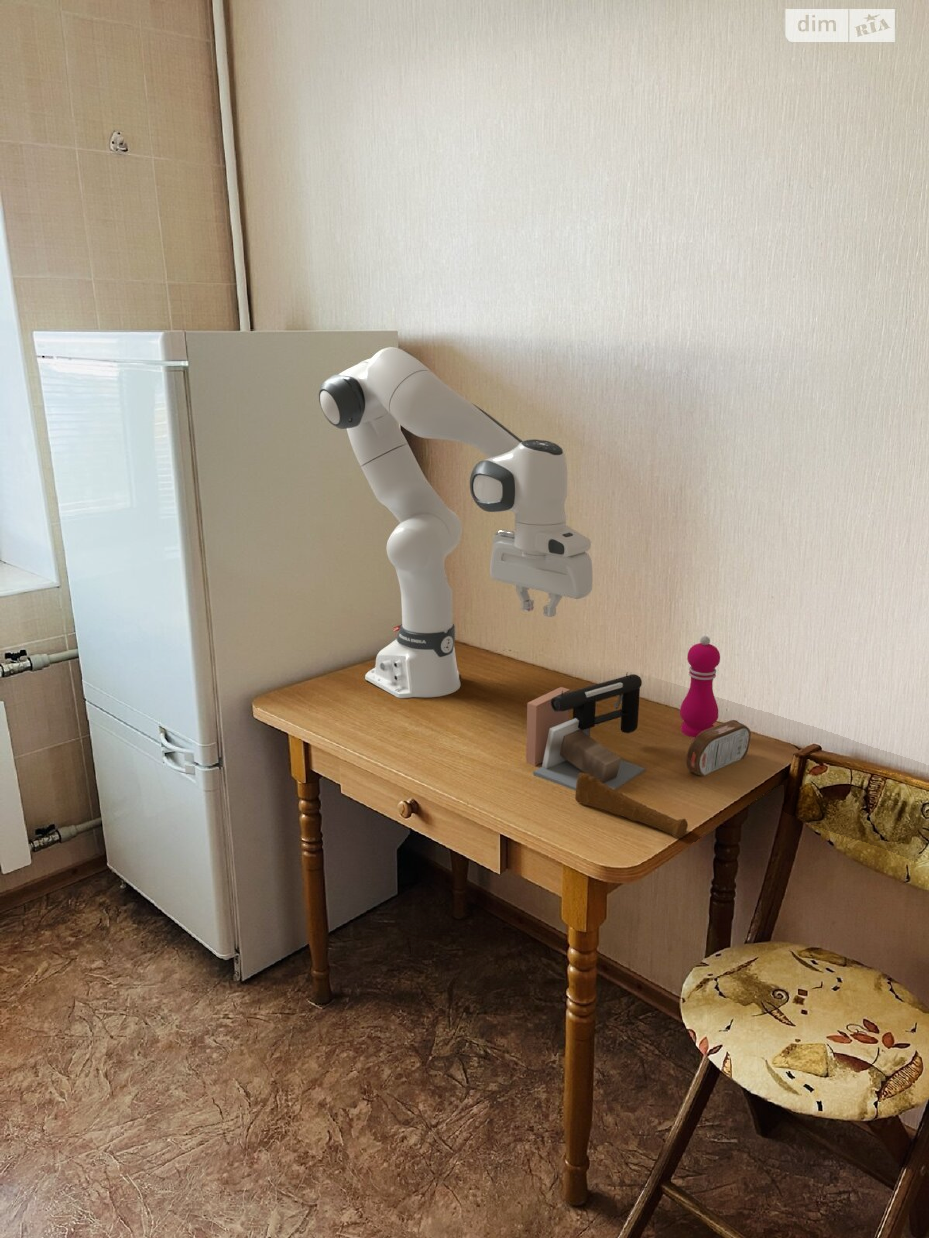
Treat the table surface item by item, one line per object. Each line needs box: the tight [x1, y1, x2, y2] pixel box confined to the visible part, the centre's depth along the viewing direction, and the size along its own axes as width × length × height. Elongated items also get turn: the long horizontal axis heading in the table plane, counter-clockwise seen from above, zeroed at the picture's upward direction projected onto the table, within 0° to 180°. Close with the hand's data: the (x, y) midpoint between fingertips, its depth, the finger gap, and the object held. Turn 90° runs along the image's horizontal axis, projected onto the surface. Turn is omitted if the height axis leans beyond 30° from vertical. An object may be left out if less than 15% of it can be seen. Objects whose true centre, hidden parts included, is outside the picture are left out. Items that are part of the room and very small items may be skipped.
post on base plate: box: [541, 718, 622, 783], centre depth 162 cm, size 8×10×11 cm
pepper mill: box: [679, 635, 721, 739], centre depth 176 cm, size 7×7×20 cm
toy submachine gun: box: [551, 673, 643, 737], centre depth 167 cm, size 3×20×16 cm, turn 124°
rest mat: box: [533, 759, 646, 791], centre depth 163 cm, size 14×14×1 cm
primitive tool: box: [574, 773, 689, 839], centre depth 146 cm, size 19×6×4 cm
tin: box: [685, 719, 752, 777], centre depth 164 cm, size 15×3×8 cm, turn 127°
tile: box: [525, 686, 571, 767], centre depth 168 cm, size 2×10×12 cm, turn 138°
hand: (538, 612), depth 163 cm, fingers open, 4 cm apart
